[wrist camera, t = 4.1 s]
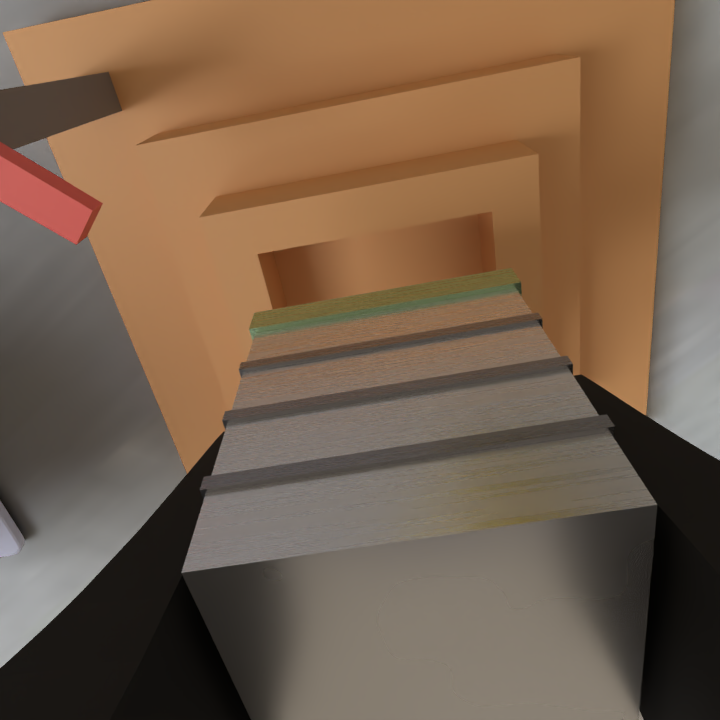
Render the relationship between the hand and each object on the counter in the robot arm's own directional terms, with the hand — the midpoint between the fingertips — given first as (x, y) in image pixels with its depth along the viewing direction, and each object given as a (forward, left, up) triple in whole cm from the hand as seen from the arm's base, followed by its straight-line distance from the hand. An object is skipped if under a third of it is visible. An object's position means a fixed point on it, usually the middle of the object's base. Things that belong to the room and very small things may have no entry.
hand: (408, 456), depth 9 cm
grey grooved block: (0, 0, -2) cm, 2 cm away
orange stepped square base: (0, 0, -8) cm, 8 cm away
